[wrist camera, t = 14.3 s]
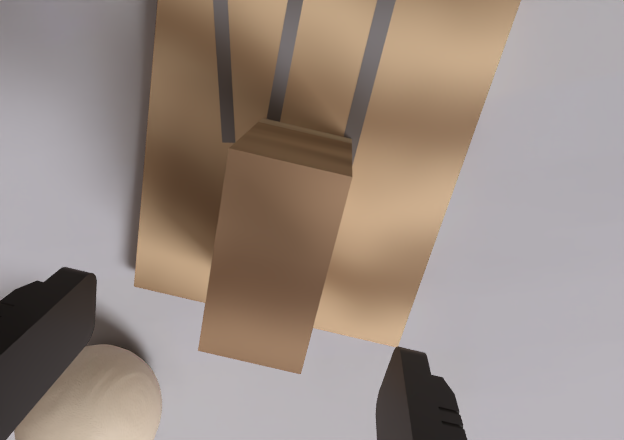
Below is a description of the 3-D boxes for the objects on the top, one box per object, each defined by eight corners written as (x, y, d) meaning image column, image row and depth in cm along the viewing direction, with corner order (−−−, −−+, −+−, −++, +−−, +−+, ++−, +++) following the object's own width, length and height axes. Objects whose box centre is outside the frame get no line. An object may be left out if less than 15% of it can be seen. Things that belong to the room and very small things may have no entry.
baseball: (37, 347, 27) (-55, 437, 21) (137, 306, 26) (70, 391, 19) (101, 428, 29) (35, 533, 23) (198, 395, 28) (154, 498, 21)
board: (197, -320, 16) (185, -348, 15) (589, -224, 16) (607, -244, 15) (143, 275, 25) (133, 286, 24) (395, 333, 25) (397, 347, 24)
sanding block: (262, 117, 20) (228, 148, 14) (351, 138, 20) (352, 177, 14) (234, 275, 23) (198, 350, 17) (312, 293, 23) (300, 374, 17)
